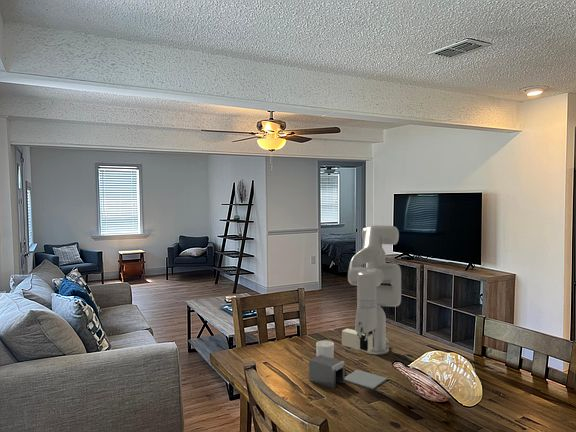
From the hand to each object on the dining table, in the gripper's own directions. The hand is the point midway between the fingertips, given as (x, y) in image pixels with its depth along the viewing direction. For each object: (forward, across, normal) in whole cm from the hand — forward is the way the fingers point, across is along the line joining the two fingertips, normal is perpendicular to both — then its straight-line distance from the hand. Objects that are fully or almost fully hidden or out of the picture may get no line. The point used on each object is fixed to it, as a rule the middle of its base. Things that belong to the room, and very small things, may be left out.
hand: (366, 347), depth 174 cm
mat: (+14, -2, -2) cm, 15 cm away
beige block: (+1, 0, -4) cm, 5 cm away
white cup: (+15, -4, -23) cm, 28 cm away
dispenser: (+14, +9, -13) cm, 22 cm away
